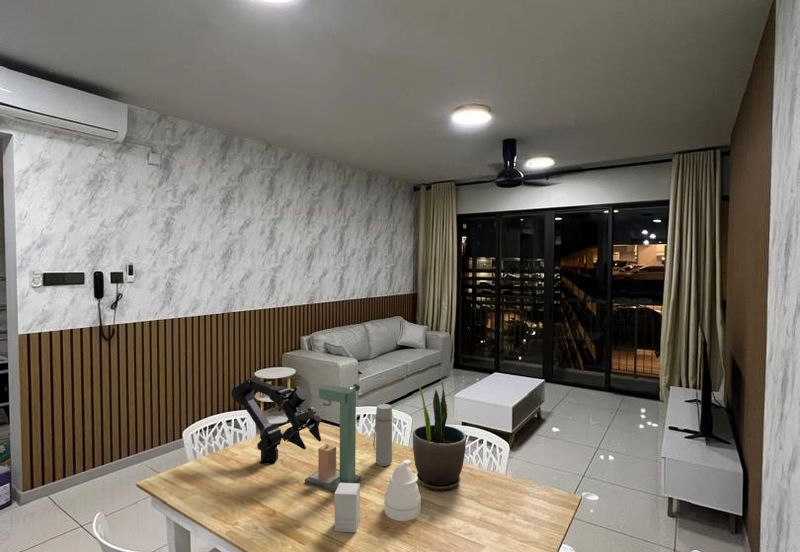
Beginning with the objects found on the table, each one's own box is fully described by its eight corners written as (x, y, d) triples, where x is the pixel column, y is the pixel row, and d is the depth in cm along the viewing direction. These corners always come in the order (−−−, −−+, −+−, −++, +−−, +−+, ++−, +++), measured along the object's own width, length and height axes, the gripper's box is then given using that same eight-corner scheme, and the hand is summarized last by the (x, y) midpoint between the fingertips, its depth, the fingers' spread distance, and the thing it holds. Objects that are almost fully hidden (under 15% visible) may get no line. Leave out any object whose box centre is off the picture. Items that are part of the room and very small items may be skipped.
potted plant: (451, 465, 184) (452, 373, 183) (475, 490, 163) (476, 387, 163) (405, 472, 178) (406, 377, 177) (423, 499, 157) (424, 392, 156)
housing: (318, 475, 170) (318, 444, 170) (326, 470, 174) (326, 440, 174) (328, 478, 168) (328, 447, 167) (336, 473, 172) (336, 443, 172)
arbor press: (304, 482, 168) (305, 388, 167) (335, 463, 185) (335, 377, 185) (341, 494, 159) (342, 395, 159) (369, 473, 177) (370, 383, 176)
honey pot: (428, 509, 150) (428, 459, 150) (403, 525, 141) (404, 472, 140) (401, 496, 159) (402, 448, 159) (376, 510, 150) (377, 459, 149)
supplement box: (360, 519, 144) (360, 483, 144) (356, 533, 136) (356, 494, 136) (339, 518, 145) (339, 481, 144) (333, 531, 137) (334, 493, 137)
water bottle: (395, 461, 187) (396, 405, 187) (385, 468, 180) (386, 410, 180) (378, 456, 192) (379, 401, 192) (368, 463, 185) (368, 406, 185)
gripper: (287, 408, 168) (308, 442, 163) (318, 396, 185) (338, 426, 180) (272, 424, 173) (292, 457, 167) (304, 411, 189) (323, 441, 184)
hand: (313, 444), depth 174 cm, fingers open, 9 cm apart
